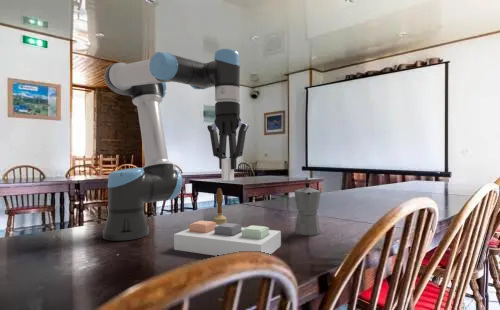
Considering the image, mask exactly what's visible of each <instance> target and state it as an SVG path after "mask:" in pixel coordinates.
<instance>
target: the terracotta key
mask: <svg viewBox="0 0 500 310" xmlns="http://www.w3.org/2000/svg"><path fill="white" fill-rule="evenodd" d="M188 227H189V228H188V229H189V231H190V232H199V233H208V232H211V231H213V230H215V227H216V222H214V221H211V220H210V221H209V220H198V221H195V222H192V223H190V224H189V225H188Z"/></svg>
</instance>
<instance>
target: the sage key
mask: <svg viewBox="0 0 500 310" xmlns="http://www.w3.org/2000/svg"><path fill="white" fill-rule="evenodd" d="M269 230H270V227H269V226H268V227H267V226H263V225H254V224H253V225H249V226H246V227H245V229H243V230H242V237H243V238H252V239H260V240H262V239H264V238H265V237H267V236H268V235H269Z"/></svg>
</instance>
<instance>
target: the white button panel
mask: <svg viewBox="0 0 500 310" xmlns="http://www.w3.org/2000/svg"><path fill="white" fill-rule="evenodd" d="M216 226H218V225H216ZM245 228H246V226H245V227H243V226H241V233H239V234H237V235H235V236H225V235H216V234H215V230H213V231H211V232H208V233H199V232H190V231H189V228H187V229H184V230H182V231H178V232H176V233H174V234H173V250H175V251H181V252H189V253H195V254H201V255H209V256H210V255H211V256H214V257H215V256H216V257H218V256H217V255H222V254H227V253H233V252H239V251H261V252H265V253H269V254H273V253H274V252H275V251H277V250H278V249H279V248H280V247H281V246H282V231H281V230H273V229H269V235H268V236H267V237H265V238H264V239H262V240H260V239H252V238H243V237H242V230H243V229H245Z"/></svg>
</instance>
